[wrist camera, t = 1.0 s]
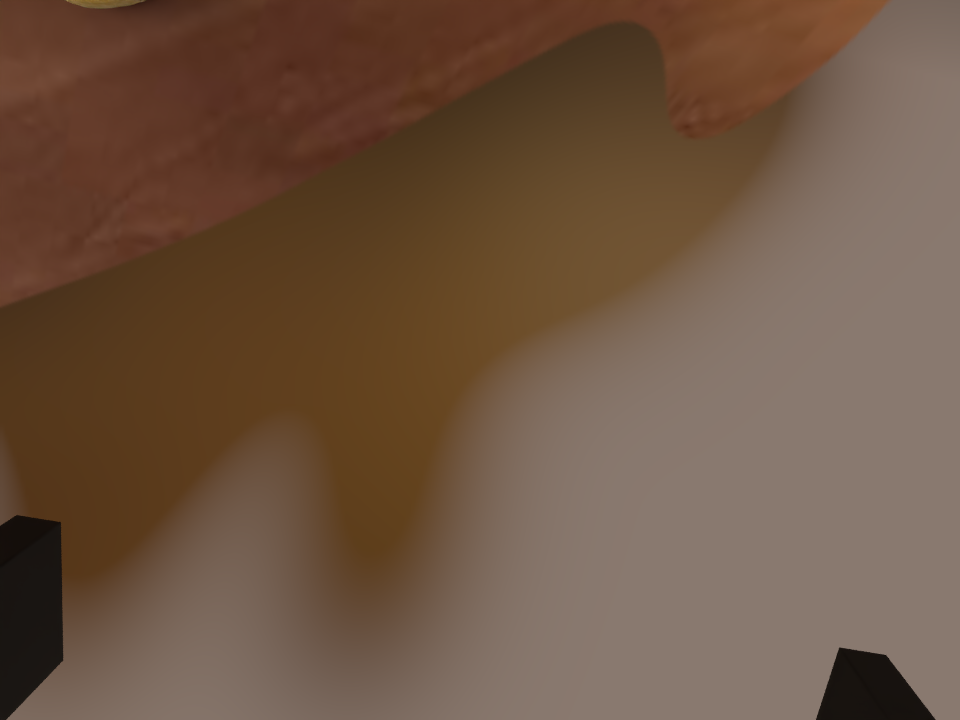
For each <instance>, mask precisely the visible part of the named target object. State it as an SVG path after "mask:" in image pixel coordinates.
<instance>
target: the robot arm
mask: <svg viewBox="0 0 960 720" xmlns="http://www.w3.org/2000/svg"><path fill="white" fill-rule="evenodd" d="M61 566H62V564H61V522H56V521H50V520H44V519H37V518H31V517H25V516H19V515H16V516H15V517H13V518H12V519H10V520H8V521H7V522H5V523H4V524H2V525H1V526H0V720H6V719H7V718H8V717H9V716H10V715H11V714H12V713H13V712H14V711H15V710H16V709H17V708H18V707H19V706H20V705H21V704H22V703H23V702H24V701H25V699H26V698H27V697H28V696H29V695H30V694H31V693H32V692H33V691H34V690H35V689H36V688H37V687H38V686H39V685H40V684H41V683H42V682H43V681H44V680H45V679H46V678H47V677H48V676H49V674H50V673H51V672H52V671H53V670H54V669H55V668H56V667H57V666H58V665H59V664H60V663H61V662H62V661H63V624H62V623H63V622H62V567H61ZM816 720H935V718H934V717H933V716H932V714H931V713H930V712H929V711H928V709H927V708H926V707H925V705H924V704H923V703H922V702H921V700H920V699H919V698H918V696H917V695H916V694H915V692H914V691H913V690H912V688H911V687H910V686H909V684H908V683H907V682H906V680H905V679H904V678H903V677H902V675H901V674H900V673H899V671H898V670H897V669H896V668H895V666H894V665H893V664H892V662H891V661H890V660H889V658H888V657H887V656H886V655H882V654H876V653H870V652H864V651H857V650H851V649H845V648H839V650H838V653H837V656H836V659H835V662H834V666H833V669H832V672H831V675H830V679H829V681H828V684H827V688H826V690H825V693H824V697H823V700H822V703H821V706H820V709H819V712H818V715H817V718H816Z"/></svg>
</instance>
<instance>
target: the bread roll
mask: <svg viewBox="0 0 960 720" xmlns="http://www.w3.org/2000/svg"><path fill="white" fill-rule="evenodd" d="M66 1H68V2H70V3H73V4H75V5H79V6H82V7H86V8H98V9H104V8H115V7H123V6H129V5H133V4H136V3H138V2H144V1H146V0H66Z"/></svg>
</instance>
